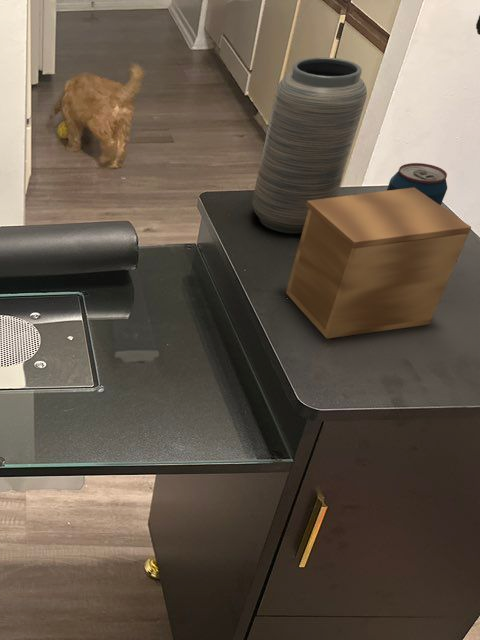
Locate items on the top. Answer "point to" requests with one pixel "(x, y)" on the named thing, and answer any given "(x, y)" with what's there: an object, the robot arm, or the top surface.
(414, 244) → the chest
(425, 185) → the soda can
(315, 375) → the top surface
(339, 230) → the chest lid
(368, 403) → the top surface
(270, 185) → the vase
